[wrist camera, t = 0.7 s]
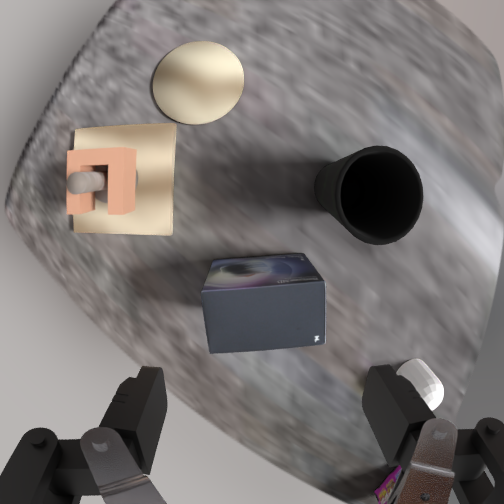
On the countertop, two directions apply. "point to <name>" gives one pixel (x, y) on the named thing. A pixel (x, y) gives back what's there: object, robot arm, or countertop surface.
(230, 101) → the coaster
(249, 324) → the small box
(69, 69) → the countertop surface
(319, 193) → the cup
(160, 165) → the peg stand
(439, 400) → the capsule
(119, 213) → the c link
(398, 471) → the candy bar box
